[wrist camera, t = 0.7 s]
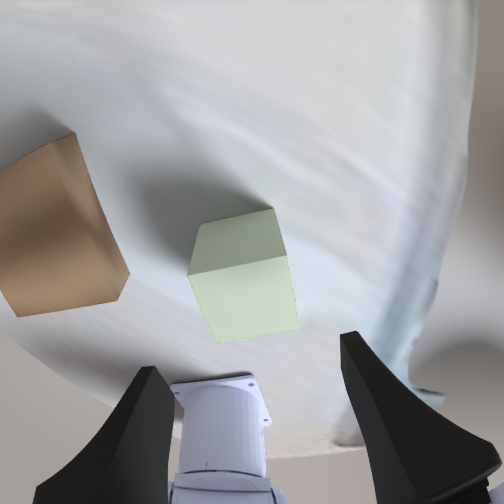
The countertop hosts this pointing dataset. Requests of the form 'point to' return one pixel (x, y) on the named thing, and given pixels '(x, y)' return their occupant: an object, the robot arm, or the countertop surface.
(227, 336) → the sage cube
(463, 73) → the countertop surface
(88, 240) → the walnut base
